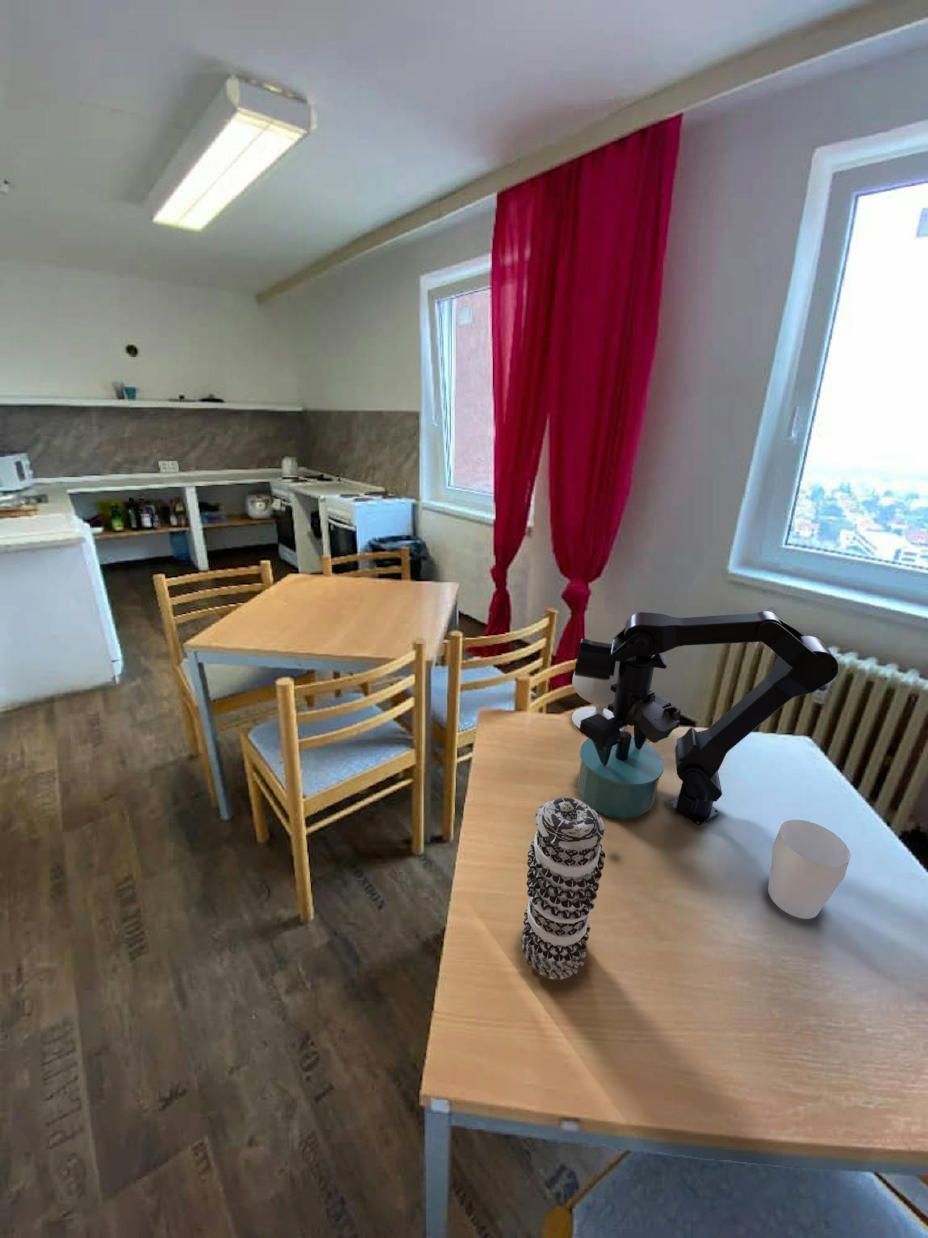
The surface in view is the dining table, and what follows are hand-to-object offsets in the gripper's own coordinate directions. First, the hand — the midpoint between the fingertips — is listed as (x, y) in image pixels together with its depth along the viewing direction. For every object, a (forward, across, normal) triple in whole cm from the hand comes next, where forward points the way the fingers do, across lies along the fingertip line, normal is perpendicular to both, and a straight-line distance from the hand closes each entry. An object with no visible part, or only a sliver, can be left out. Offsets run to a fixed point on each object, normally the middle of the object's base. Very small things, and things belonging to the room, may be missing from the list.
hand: (621, 756), depth 97 cm
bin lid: (+1, 0, 0) cm, 1 cm away
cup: (+9, +5, -31) cm, 33 cm away
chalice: (+9, +15, +19) cm, 26 cm away
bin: (+9, 0, 0) cm, 9 cm away
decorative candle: (+9, -32, -18) cm, 38 cm away
